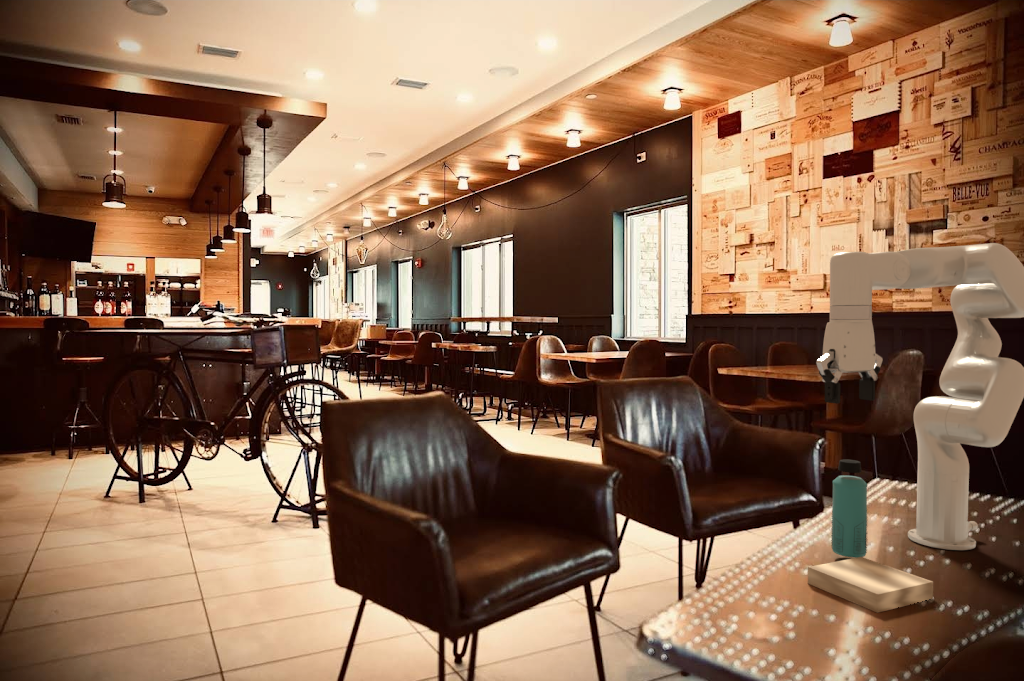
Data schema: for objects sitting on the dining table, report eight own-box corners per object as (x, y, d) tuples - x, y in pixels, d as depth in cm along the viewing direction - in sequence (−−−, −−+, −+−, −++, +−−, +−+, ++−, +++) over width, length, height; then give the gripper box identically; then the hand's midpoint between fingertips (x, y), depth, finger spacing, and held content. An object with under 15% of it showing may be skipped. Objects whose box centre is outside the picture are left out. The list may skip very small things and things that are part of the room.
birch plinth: (860, 572, 132) (861, 556, 132) (932, 599, 119) (933, 581, 119) (807, 583, 126) (808, 566, 126) (877, 612, 113) (877, 594, 113)
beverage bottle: (871, 566, 135) (873, 464, 135) (834, 563, 137) (836, 462, 136) (861, 555, 142) (863, 458, 141) (826, 553, 143) (828, 456, 143)
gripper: (864, 314, 145) (863, 397, 145) (803, 315, 137) (802, 401, 138) (897, 314, 138) (896, 400, 139) (835, 315, 131) (834, 406, 131)
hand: (849, 401), depth 138 cm, fingers open, 9 cm apart
